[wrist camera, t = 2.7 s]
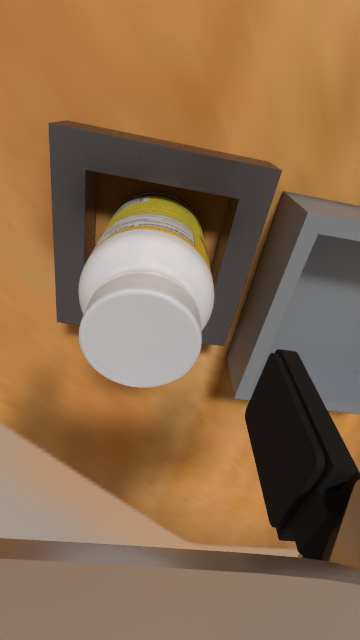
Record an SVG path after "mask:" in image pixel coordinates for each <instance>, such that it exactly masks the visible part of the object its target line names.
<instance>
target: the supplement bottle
mask: <svg viewBox="0 0 360 640" xmlns="http://www.w3.org/2000/svg"><path fill="white" fill-rule="evenodd" d="M79 302H80V306H81V310H82V313H83V317H82V320H81V323H80V327H79V343H80V347H81V350H82V352H83V354H84V356H85V358H86V360H87V361H88V362H89V364H90V365H91V366H92V367H93V368H94V369H95V370H96V371H97V372H98V373H100V374H101V375H103V376H104V377H106V378H108V379H109V380H111V381H114V382H116V383H119V384H122V385H126V386H131V387H140V388H147V387H157V386H162V385H165V384H168V383H171V382H173V381H175V380H177V379H179V378H180V377H182V376H183V375H185V374H186V373H187V372H188V371H189V370H190V369H191V368H192V366H193V365H194V364H195V362H196V361H197V359H198V356H199V354H200V350H201V346H202V333H201V331H202V330H203V329H204V327H205V326H206V324H207V322H208V320H209V318H210V316H211V313H212V309H213V305H214V284H213V278H212V273H211V269H210V264H209V259H208V254H207V250H206V246H205V241H204V236H203V232H202V228H201V225H200V223H199V221H198V219H197V217H196V215H195V214H194V212H193V211H192V210H191V209H190V208H189V207H188V206H187V205H186V204H185V203H183V202H182V201H180V200H179V199H177V198H175V197H173V196H170V195H167V194H162V193H145V194H140V195H137V196H135V197H133V198H131V199H129V200H128V201H126V202H125V203H124V204H122V205H121V206H120V207H119V209H118V210H117V211H116V212H115V213H114V215H113V217H112V218H111V220H110V222H109V224H108V225H107V227H106V229H105V230H104V232H103V234H102V236H101V237H100V239H99V241H98V243H97V244H96V246H95V248H94V250H93V251H92V253H91V255H90V256H89V258H88V260H87V262H86V264H85V266H84V268H83V271H82V273H81V276H80V281H79Z"/></svg>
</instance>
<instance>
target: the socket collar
mask: <svg viewBox="0 0 360 640" xmlns="http://www.w3.org/2000/svg"><path fill="white" fill-rule="evenodd" d="M49 143H50V167H51V190H52V214H53V237H54V261H55V284H56V308H57V322H61V323H68V324H74V325H80V323H81V320H82V317H83V313H82V310H81V306H80V302H79V281H80V276H81V273H82V271H83V268H84V266H85V264H86V262H87V260H88V258H89V256H90V255H91V253H92V251H93V250H94V248H95V228H96V197H97V172H100V173H105V174H111V175H116V176H121V177H126V178H132V179H137V180H142V181H147V182H152V183H158V184H163V185H168V186H173V187H179V188H184V189H189V190H194V191H199V192H205V193H210V194H215V195H220V196H226V197H230V198H229V202H228V206H227V210H226V214H225V218H224V221H223V225H222V229H221V233H220V237H219V241H218V245H217V249H216V253H215V257H214V261H213V265H212V268H211V273H212V278H213V284H214V305H213V309H212V313H211V316H210V318H209V320H208V322H207V324H206V326H205V327H204V329H203V330H202V331H201V333H202V343H206V344H213V345H220V346H224V345H225V342H226V339H227V336H228V333H229V330H230V327H231V324H232V321H233V318H234V315H235V312H236V309H237V306H238V303H239V300H240V297H241V294H242V291H243V288H244V285H245V282H246V278H247V275H248V272H249V269H250V266H251V263H252V260H253V257H254V254H255V251H256V248H257V245H258V242H259V239H260V236H261V233H262V230H263V227H264V224H265V221H266V218H267V215H268V211H269V208H270V205H271V202H272V199H273V196H274V193H275V190H276V187H277V184H278V181H279V178H280V175H281V172H282V170H281V169H279V168H277V167H276V166H274V165H273V164H271V163H270V162H266V161H262V160H257V159H252V158H247V157H242V156H237V155H232V154H227V153H223V152H218V151H213V150H208V149H203V148H198V147H193V146H188V145H184V144H179V143H174V142H169V141H164V140H159V139H154V138H149V137H144V136H140V135H135V134H130V133H125V132H120V131H115V130H110V129H105V128H101V127H96V126H91V125H86V124H81V123H76V122H71V121H60V122H53V123H49Z"/></svg>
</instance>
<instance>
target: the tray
mask: <svg viewBox="0 0 360 640" xmlns="http://www.w3.org/2000/svg"><path fill="white" fill-rule="evenodd" d="M277 349H282V350H290V351H295V352H297V353H298V354H299V356H300V358H301V360H302V362H303V364H304V366H305V368H306V370H307V372H308V374H309V376H310V378H311V380H312V382H313V383H314V385H315V387H316V389H317V391H318V393H319V395H320V397H321V399H322V401H323V403H324V405H325V407H326V409H327V411H335V412H343V413H351V414H358V415H360V206H356V205H351V204H346V203H341V202H336V201H331V200H325V199H320V198H315V197H310V196H305V195H300V194H295V193H290V192H285V191H283V193H282V196H281V199H280V202H279V205H278V208H277V211H276V214H275V217H274V220H273V223H272V225H271V228H270V231H269V234H268V237H267V240H266V243H265V246H264V249H263V252H262V255H261V258H260V261H259V264H258V266H257V269H256V272H255V275H254V278H253V281H252V284H251V287H250V290H249V293H248V296H247V299H246V302H245V304H244V307H243V310H242V313H241V316H240V319H239V322H238V325H237V328H236V331H235V334H234V337H233V340H232V342H231V345H230V348H229V351H228V354H227V361H228V367H229V372H230V378H231V383H232V389H233V394H234V399H242V400H250V399H251V397H252V394H253V392H254V390H255V387H256V385H257V383H258V380H259V378H260V375H261V373H262V371H263V368H264V366H265V364H266V361H267V359H268V357H269V355H270V354H271V353H275V351H276V350H277Z"/></svg>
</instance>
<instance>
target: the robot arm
mask: <svg viewBox="0 0 360 640" xmlns="http://www.w3.org/2000/svg"><path fill="white" fill-rule="evenodd" d="M245 420H246V424H247V429H248V433H249V437H250V441H251V446H252V450H253V454H254V458H255V463H256V467H257V471H258V475H259V480H260V484H261V488H262V492H263V497H264V501H265V505H266V509H267V514H268V518H269V521H270V524H271V526H272V527H275V528H276V530H277V534H278V538H279V540H282V541H295V542H296V546H297V549H298V552H299V556H298V558H296V557H285V556H273V555H261V554H248V553H236V552H221V551H205V550H188V549H173V548H158V547H141V546H125V545H108V544H91V543H74V542H57V541H40V540H22V539H4V538H0V640H360V473H359V471H358V468H357V467H356V465H355V463H354V461H353V459H352V457H351V455H350V453H349V451H348V449H347V447H346V445H345V443H344V441H343V439H342V438H341V436H340V434H339V432H338V430H337V428H336V426H335V424H334V422H333V420H332V418H331V416H330V414H329V412H328V411H327V409H326V407H325V405H324V403H323V401H322V399H321V397H320V395H319V393H318V391H317V389H316V387H315V385H314V383H313V382H312V380H311V378H310V376H309V374H308V372H307V370H306V368H305V366H304V364H303V362H302V360H301V358H300V356H299V354H298V353H297V352H295V351H290V350H282V349H277V350H276V351H275V353H271V354H270V355H269V357H268V359H267V361H266V364H265V366H264V368H263V371H262V373H261V375H260V378H259V380H258V383H257V385H256V387H255V390H254V392H253V394H252V397H251V399H250V401H249V404H248V406H247V408H246V412H245Z"/></svg>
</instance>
